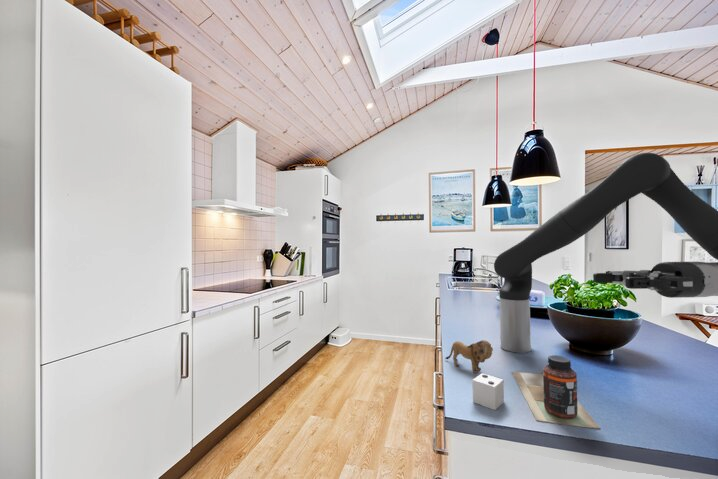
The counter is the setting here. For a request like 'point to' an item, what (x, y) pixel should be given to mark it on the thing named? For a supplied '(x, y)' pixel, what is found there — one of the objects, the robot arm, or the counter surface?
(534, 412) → the game board
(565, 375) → the supplement bottle
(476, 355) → the lion figurine
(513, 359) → the counter surface
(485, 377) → the die
